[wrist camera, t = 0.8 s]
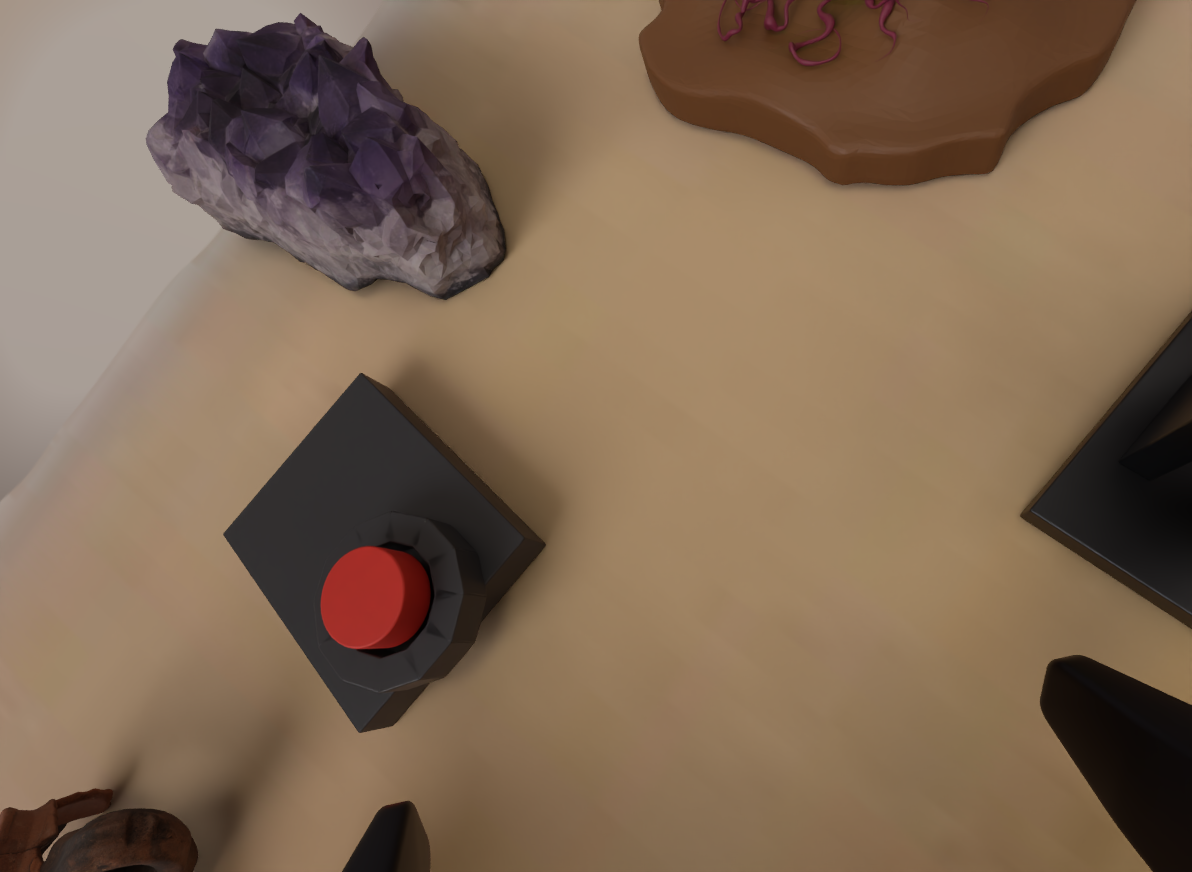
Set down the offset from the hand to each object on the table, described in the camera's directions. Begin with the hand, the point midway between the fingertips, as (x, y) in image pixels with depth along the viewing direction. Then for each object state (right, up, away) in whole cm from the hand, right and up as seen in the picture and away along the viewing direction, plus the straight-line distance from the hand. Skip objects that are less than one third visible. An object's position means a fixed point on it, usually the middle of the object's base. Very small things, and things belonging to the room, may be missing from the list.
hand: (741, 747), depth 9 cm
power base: (-11, -1, +21) cm, 24 cm away
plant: (+11, +25, +21) cm, 34 cm away
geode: (-14, +17, +27) cm, 36 cm away
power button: (-10, -2, +16) cm, 19 cm away
